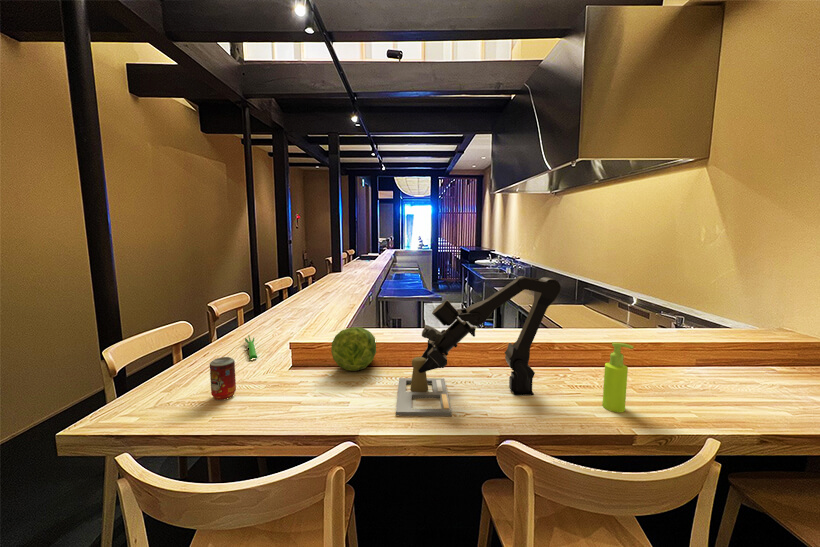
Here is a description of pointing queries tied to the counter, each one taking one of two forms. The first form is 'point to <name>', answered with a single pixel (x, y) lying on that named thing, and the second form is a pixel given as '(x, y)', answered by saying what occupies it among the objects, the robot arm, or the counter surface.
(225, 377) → the soda can
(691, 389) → the counter surface
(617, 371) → the soap dispenser
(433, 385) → the panel
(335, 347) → the lettuce
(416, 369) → the cork
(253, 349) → the green onion
